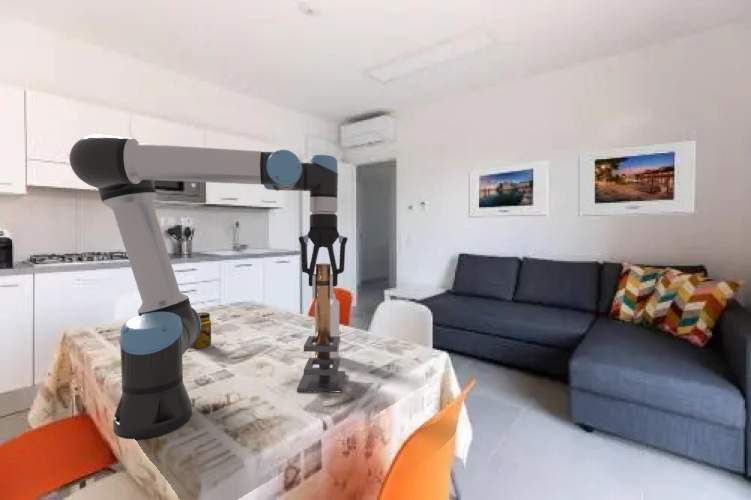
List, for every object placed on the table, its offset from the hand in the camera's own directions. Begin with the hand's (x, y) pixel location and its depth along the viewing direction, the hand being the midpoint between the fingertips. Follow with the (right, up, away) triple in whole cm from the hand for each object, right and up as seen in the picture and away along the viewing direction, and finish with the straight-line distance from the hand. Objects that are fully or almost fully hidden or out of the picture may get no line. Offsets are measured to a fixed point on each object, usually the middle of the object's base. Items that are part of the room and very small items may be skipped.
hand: (323, 297), depth 103 cm
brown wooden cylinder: (0, -17, +1) cm, 17 cm away
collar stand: (0, -24, +2) cm, 24 cm away
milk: (-2, -23, +21) cm, 31 cm away
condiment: (-49, -22, +30) cm, 61 cm away
